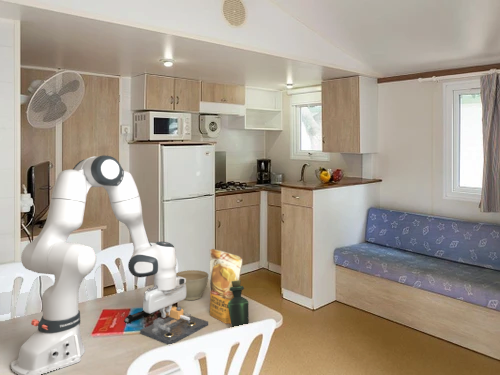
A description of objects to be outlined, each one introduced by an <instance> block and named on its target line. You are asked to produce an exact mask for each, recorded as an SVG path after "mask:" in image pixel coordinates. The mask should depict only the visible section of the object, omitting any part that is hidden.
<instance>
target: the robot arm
mask: <svg viewBox="0 0 500 375" xmlns="http://www.w3.org/2000/svg"><path fill="white" fill-rule="evenodd" d="M101 187H102V188H104V190H105V191H106V193H107V195H108V198H109V199H108V200H109V203H110V207H111V210H112V212H113V215H114V216H115V218H116V220H117V221H118V222H120V223H123V224H124V226H126V228H127V229H128V231H129V235H130V238H131V241H132V242H131V243H132V245H133V252H132V256H131V257H130V259H129V261H128V265H127V266H128V271H129V272H130V274H131V275H132V276H134V277H137V278H146V277H150V276H153V286H151V287H149V288H147V290H145V292H144V296H143V302H142V303H143V304H142V311H143V310H144V311H145V312H146V313H153V312H155V311H157V312H158V311H159V312H160V313H161V318H162V319H165V318H168V317H169V316H170V310H171V308H172V306H173V305H174V304H176V303H178V302H182V301H185V298H186V284H185V283H186V278H183V277H180V276H176V273H177V270H176V267H177V252H176V248H175V245H174V244H172V243H170V242H167V241H157V242H155V243H154V244H153V245H152V244H151V243H150V239H149V238H148V234H147V231H146V228H145V223H144V218H143V207H142V201H141V196H140V194H139V189H138V187H137V184H136V182H135V179H134V177H133V175H132V173H130V172H129V171H127V170H125V169H124V168H123V167H122V166H121V164H120V162H119V160H117V159H116V158H115V157H113V156H111V155H105V154H103V155H98V156H91V157H88V158H85V159H81V160H80V161H78V162H77V163H76V164H75V166H74V167H73V168H72V169H69V168H68V169H65V170H62V171H61V172H60V173H59V174H58V175H57V178H56V181H55V183H54V186H53V189H52V192H51V197H50V204H49V208H48V214H47V217H46V219H45V220H46V221H45V223H44V225H43V228H42V229H41V231H40V232H39V234H38V235H37V236H36V237H35V238H34V239H33V240H32V241H31V242H30V243H27V244H26V246H25V247H24V248H23V250H22V252H21V257H20V258H21V259H20V260H21V261H20V262H21V263H22V266H23V268H24V269H26V270H27V271H31V272H34V273H37V274H41V275H53V276H54V283H53V285H50V286H49V287H48V288H46V289H45V290H44V291H43V293H42V295H41V300H42V301H41V304H42V316H41V318H40V320H38V319H36V318H34V319H32V320H31V323H30V324H31V325H32V326H34V327H37V329H36V330H35V331H34V333H33V334H31V335H30V337H29V338H28V339H26V340H25V341H24V342H23V344H21V346H20V347H19V350H18V357H17V359H14V360H12V361H11V362H10V370H11V369H12V370H11V371H12V372H13V373H14V372H15V373H14V374H16V373H17V374H18V375H41V374H43V373H46V374H48V373H47V372H49V373H51V372H50V371H52V372H54V371H53V370H55V371H57V370H60V369H62V368H66V367H69V366H71V365H75V364H77V363H79V362H81V359H82V356H83V354H85V352H86V348H85V346H84V343H83V338H82V335H81V326H80V325H81V311H80V309H79V293H80V292H79V291H80V287H81V285H82V282H83V280H84V279H85V278H86V276H88V275H89V274H90V273H92V271H93V270H94V269H95V267H96V264H97V255H96V251H95V250H94V248H93V247H91V246H88V245H86V244H83V243H79V242H69V241H68V242H67V240H68V238H69V236H70V235H71V234H72V233H73V232H75V231H77V230H78V229H80V228H81V226H82V225H83V223H84V217H85V216H84V214H85V211H86V210H85V209H86V202H87V195H88V192H89V190H90V189H91V188H101ZM166 307H167V308H166ZM59 368H60V369H59ZM56 369H57V370H56ZM17 374H16V375H17ZM43 375H44V374H43Z"/></svg>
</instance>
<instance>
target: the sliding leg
mask: <svg viewBox="0 0 500 375" xmlns="http://www.w3.org/2000/svg"><path fill="white" fill-rule="evenodd" d="M166 308H167V307H165V309H166ZM183 313H184V309H183V308H182V306H174V305H172V308H171V310H170V316H168V317H172V318H174V319H177V320H179V319H181V318H182V319H185V320H188V324H190V318H189V317H186V316H183Z"/></svg>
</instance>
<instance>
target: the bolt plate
mask: <svg viewBox="0 0 500 375" xmlns="http://www.w3.org/2000/svg"><path fill="white" fill-rule="evenodd" d="M183 316H186V317H189V318H190V324H188V320H185V319H182V318H181V319H179V320H177V319H174V318H172V317H169V316H167V317H165V318H163V317H158V318H155V319H154V320H153V321H152V322H153V323H152V324H150V325H148V326H145V327H143V328H141V329H139V334H140V335H142V336H145V337H147V338H150V339H153V340H154V341H155V340H156V341H157V342H160V343H162V344H165V345H168V344H172V343H174V344H175V343H177V342H179V341H181V340H183V339H185V338H187V337H189V336H190V335H193V334H194V333H197V332H198V331H200V330H202V329H204V328H206V327H208V326H209V321H208V320H205V319H202V318H198V317H195V316H192V315H191V314H190V313H184V312H183ZM172 345H173V344H172ZM168 346H169V345H168Z"/></svg>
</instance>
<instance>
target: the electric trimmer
mask: <svg viewBox="0 0 500 375" xmlns="http://www.w3.org/2000/svg"><path fill="white" fill-rule="evenodd" d="M157 312H158V311H155V312H153V313H146V312H145V311H144V310H143V309H142V310H141V311H138V312H136V313H133V314H129V315H127V316H125V318H124V320H123V323H124V322H125V323H124V324H126V325H129V324H132V323H133V322H135V321H138V320H140V319H143V318H147V317H150V316H151V315H154V314H156V313H157Z"/></svg>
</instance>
